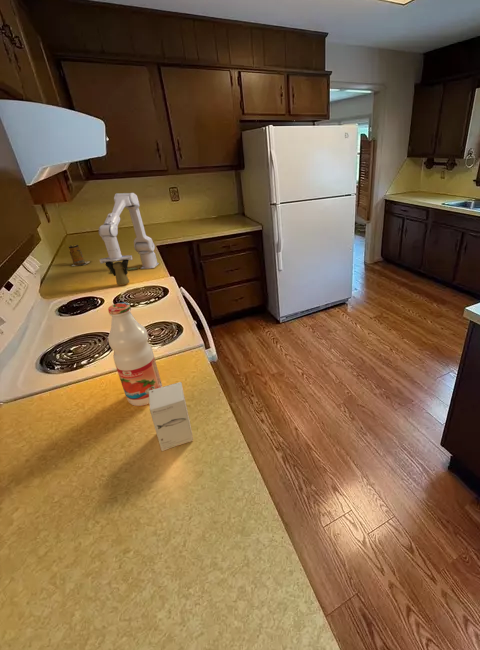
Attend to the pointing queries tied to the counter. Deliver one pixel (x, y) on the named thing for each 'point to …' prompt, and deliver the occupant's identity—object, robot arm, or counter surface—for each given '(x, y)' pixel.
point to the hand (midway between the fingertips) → (120, 274)
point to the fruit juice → (132, 355)
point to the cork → (120, 273)
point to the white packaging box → (170, 416)
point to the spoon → (129, 269)
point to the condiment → (77, 255)
